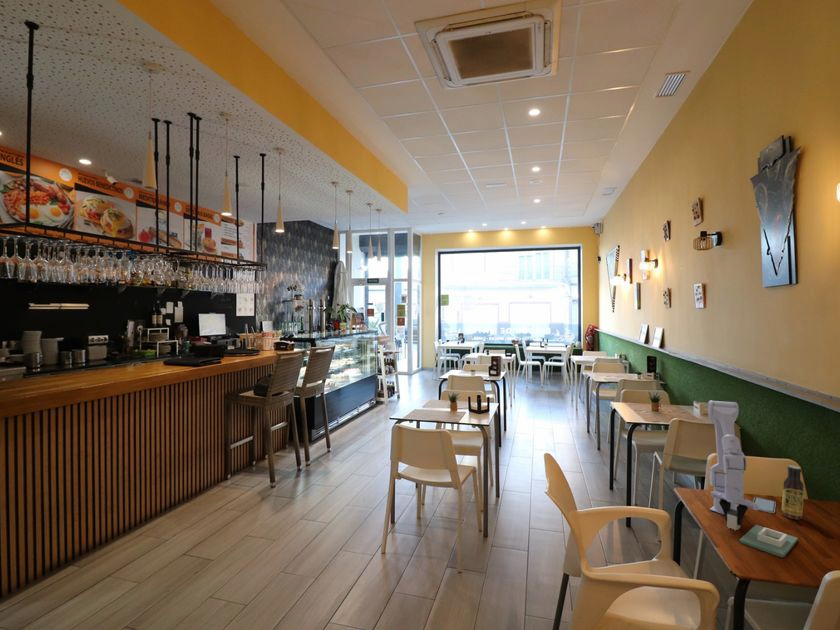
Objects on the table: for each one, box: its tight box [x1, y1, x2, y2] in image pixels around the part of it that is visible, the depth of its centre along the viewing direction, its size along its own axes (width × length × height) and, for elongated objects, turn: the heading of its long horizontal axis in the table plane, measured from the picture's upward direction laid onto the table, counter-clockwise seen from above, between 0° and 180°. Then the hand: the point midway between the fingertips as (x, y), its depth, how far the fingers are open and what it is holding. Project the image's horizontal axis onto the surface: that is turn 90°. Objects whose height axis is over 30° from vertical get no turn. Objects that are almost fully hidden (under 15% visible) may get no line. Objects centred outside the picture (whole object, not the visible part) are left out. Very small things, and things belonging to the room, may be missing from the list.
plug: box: [726, 509, 741, 531], centre depth 162 cm, size 4×3×6 cm
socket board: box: [739, 524, 799, 559], centre depth 153 cm, size 18×12×3 cm, turn 128°
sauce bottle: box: [781, 464, 805, 521], centre depth 171 cm, size 7×6×20 cm
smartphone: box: [752, 496, 777, 515], centre depth 182 cm, size 7×1×15 cm
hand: (733, 522), depth 162 cm, fingers closed on plug, 3 cm apart
